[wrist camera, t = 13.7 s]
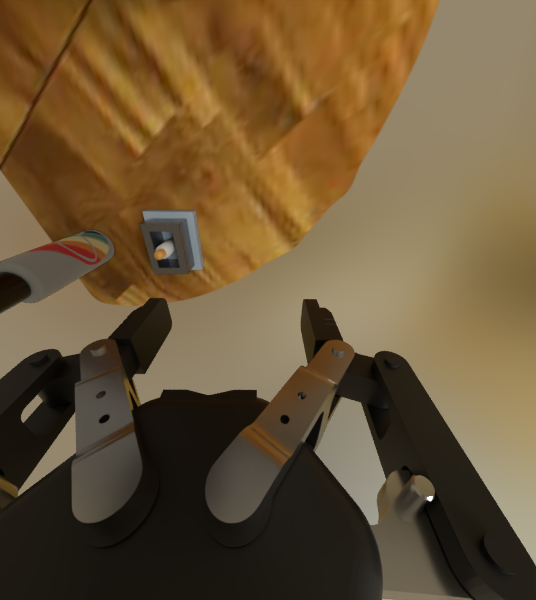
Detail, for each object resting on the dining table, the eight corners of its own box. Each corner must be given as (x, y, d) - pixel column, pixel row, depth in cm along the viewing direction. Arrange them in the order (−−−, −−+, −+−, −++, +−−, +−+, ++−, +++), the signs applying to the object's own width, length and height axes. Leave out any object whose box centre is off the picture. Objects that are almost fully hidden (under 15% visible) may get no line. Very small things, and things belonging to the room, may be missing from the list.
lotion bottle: (102, 225, 38) (-34, 275, 21) (121, 256, 41) (16, 322, 24) (73, 233, 39) (-81, 288, 22) (94, 263, 41) (-27, 332, 24)
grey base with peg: (146, 209, 37) (118, 220, 30) (195, 210, 37) (178, 220, 30) (161, 266, 42) (140, 286, 35) (203, 266, 42) (191, 286, 35)
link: (151, 218, 36) (139, 223, 32) (186, 218, 36) (178, 224, 32) (163, 264, 40) (153, 274, 37) (194, 264, 40) (188, 274, 37)
